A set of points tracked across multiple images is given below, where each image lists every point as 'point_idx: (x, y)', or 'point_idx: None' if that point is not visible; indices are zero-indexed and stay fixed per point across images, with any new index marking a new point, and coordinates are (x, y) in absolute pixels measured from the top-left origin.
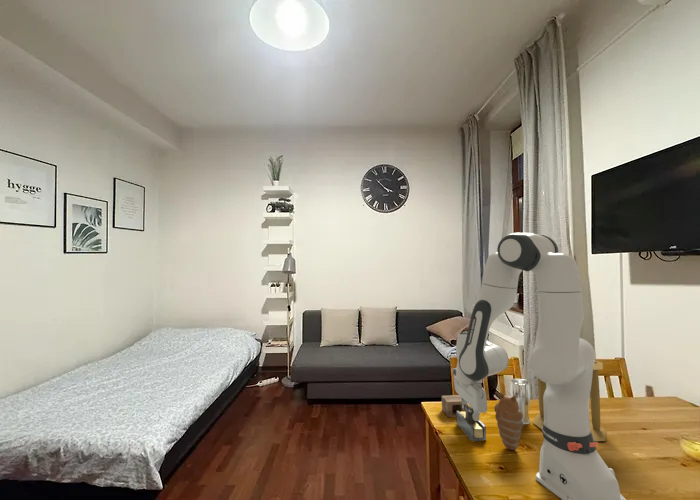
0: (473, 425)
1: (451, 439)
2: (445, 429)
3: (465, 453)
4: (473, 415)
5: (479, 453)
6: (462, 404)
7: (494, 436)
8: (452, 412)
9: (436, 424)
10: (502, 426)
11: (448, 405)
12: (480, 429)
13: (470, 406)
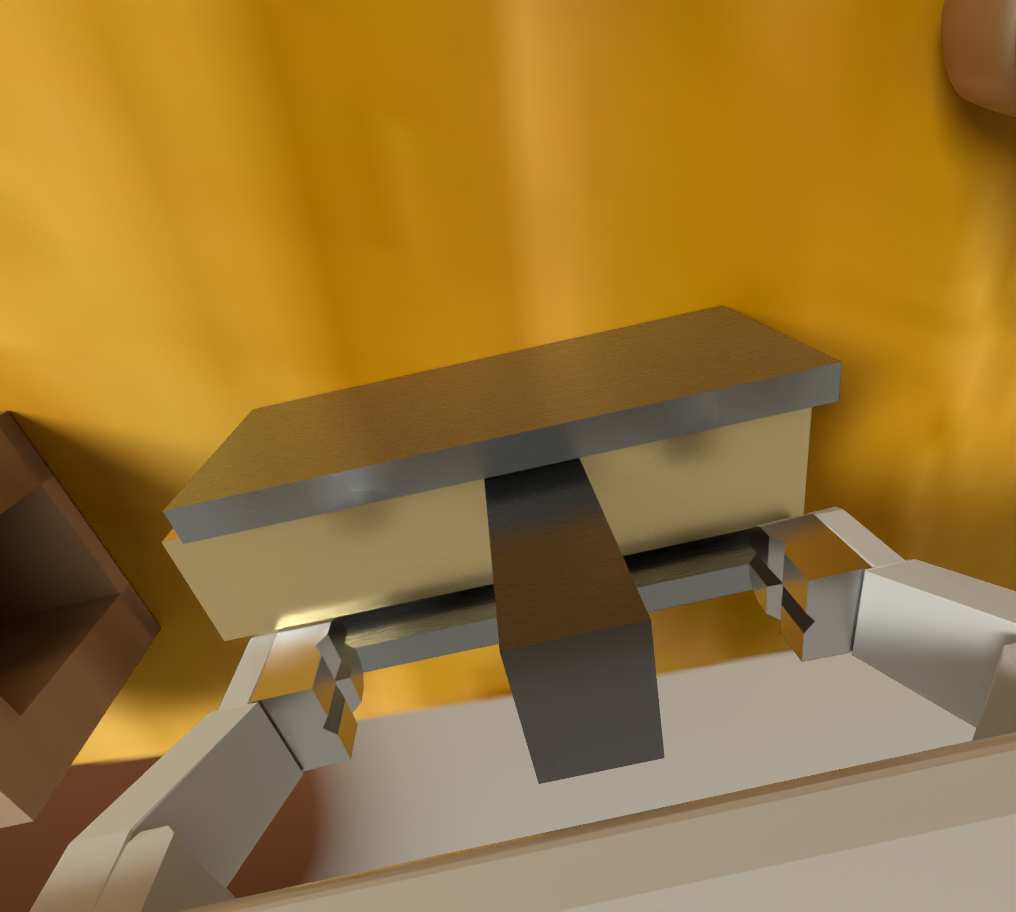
0: (689, 508)
1: (661, 625)
2: (468, 657)
3: (907, 548)
4: (859, 648)
5: (943, 435)
6: (294, 762)
7: (603, 142)
8: (5, 586)
9: (375, 715)
10: None
11: (59, 751)
12: (806, 430)
13: (521, 705)
